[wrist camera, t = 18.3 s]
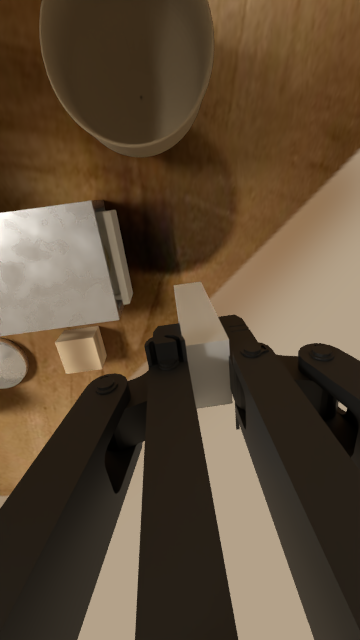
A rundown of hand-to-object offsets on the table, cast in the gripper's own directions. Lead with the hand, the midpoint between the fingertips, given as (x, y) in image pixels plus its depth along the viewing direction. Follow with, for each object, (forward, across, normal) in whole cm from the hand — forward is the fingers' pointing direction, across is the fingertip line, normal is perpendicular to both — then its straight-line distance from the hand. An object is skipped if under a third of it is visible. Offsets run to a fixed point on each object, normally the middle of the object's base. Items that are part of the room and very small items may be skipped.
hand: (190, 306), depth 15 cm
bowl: (+22, -1, +16) cm, 27 cm away
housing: (+22, -15, 0) cm, 26 cm away
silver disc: (+22, -27, -14) cm, 38 cm away
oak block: (+22, -14, -12) cm, 29 cm away
